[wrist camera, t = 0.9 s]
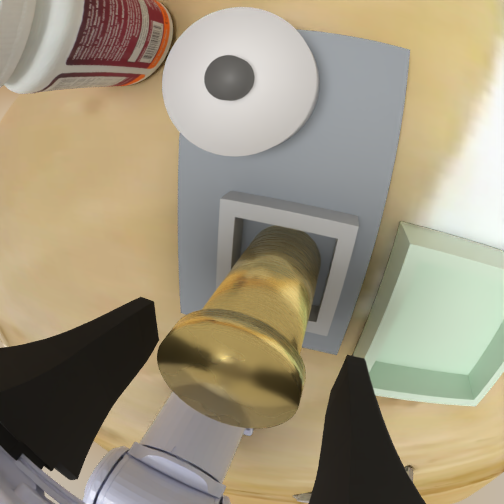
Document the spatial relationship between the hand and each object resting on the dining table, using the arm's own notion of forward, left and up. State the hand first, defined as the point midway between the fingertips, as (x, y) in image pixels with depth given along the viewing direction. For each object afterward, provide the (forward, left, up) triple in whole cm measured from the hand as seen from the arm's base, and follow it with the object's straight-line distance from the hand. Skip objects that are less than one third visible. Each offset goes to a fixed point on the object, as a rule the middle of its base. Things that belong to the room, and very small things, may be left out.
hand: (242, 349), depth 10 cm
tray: (-2, -11, -8) cm, 14 cm away
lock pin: (0, 0, -7) cm, 7 cm away
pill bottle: (+12, +11, -9) cm, 18 cm away
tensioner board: (+3, +1, -8) cm, 9 cm away
